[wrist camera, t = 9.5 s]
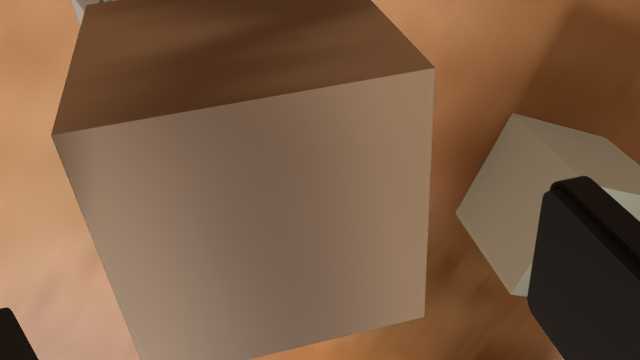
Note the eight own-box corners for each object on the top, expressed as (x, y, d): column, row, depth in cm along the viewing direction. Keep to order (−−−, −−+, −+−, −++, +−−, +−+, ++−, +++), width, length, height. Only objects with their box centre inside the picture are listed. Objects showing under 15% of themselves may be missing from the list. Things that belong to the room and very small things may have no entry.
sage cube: (604, 136, 30) (690, 206, 25) (543, 228, 33) (610, 306, 28) (511, 112, 28) (586, 183, 23) (454, 212, 31) (510, 294, 26)
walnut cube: (339, -33, 14) (434, 68, 10) (350, 169, 18) (423, 317, 13) (86, 4, 13) (51, 135, 9) (150, 209, 17) (150, 382, 12)
